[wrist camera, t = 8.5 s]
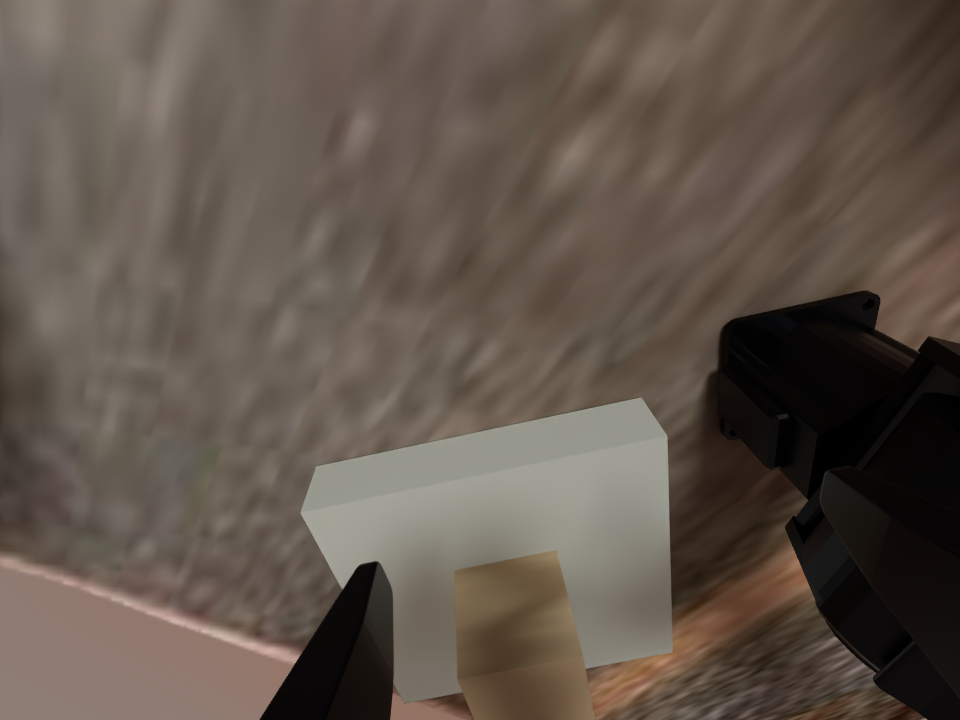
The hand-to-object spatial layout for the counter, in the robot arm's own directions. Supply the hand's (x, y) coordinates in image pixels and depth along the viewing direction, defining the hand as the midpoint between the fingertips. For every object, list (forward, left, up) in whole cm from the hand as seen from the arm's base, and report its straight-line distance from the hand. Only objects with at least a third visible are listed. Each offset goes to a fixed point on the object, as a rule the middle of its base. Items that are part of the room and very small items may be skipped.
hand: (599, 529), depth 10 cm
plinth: (+3, +14, -12) cm, 19 cm away
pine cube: (+3, +14, -9) cm, 17 cm away
